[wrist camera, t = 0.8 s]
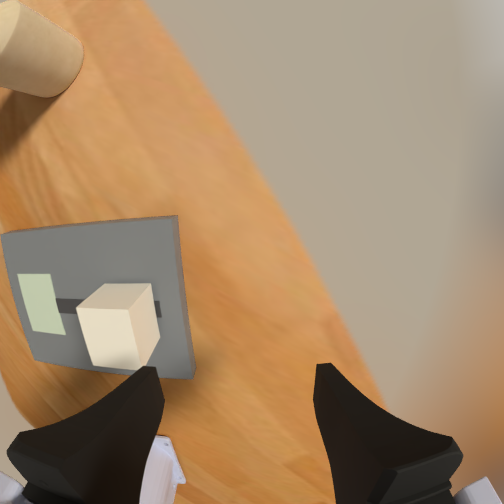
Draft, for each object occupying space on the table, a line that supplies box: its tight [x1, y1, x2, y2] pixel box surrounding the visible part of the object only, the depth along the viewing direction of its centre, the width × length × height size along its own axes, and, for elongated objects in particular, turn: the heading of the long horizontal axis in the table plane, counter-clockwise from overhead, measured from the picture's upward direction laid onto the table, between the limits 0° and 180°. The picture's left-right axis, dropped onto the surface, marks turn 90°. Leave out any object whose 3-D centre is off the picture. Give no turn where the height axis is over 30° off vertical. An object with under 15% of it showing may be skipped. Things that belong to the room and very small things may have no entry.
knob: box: [76, 283, 160, 370], centre depth 17 cm, size 4×4×4 cm
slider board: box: [1, 215, 196, 379], centre depth 20 cm, size 12×16×2 cm
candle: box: [0, 0, 84, 98], centre depth 11 cm, size 6×6×10 cm
